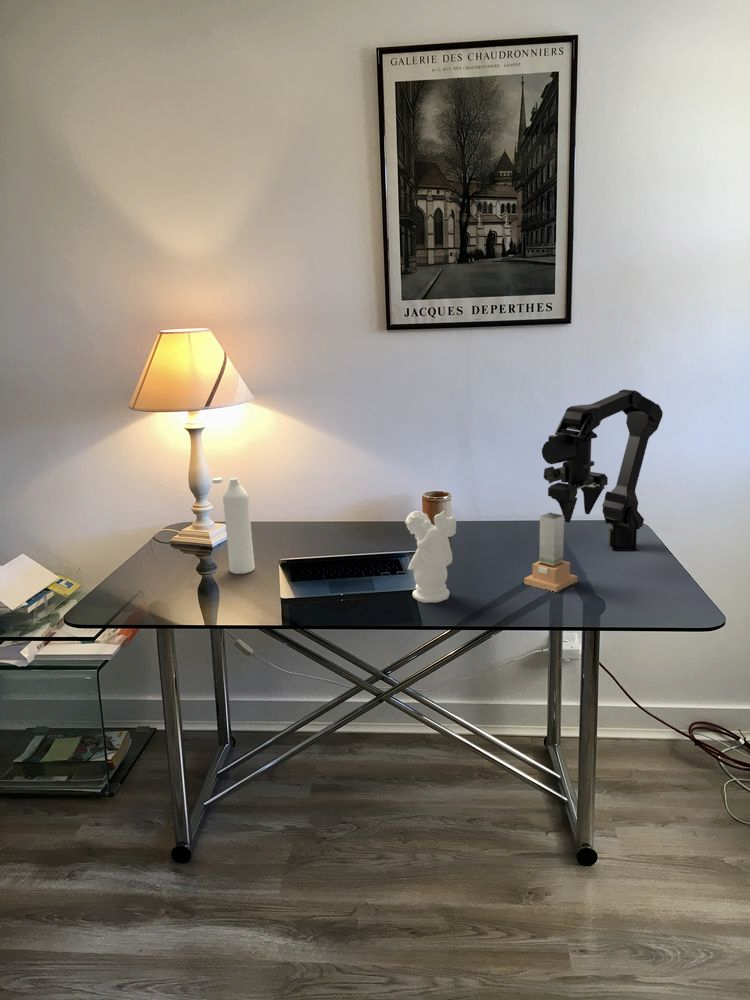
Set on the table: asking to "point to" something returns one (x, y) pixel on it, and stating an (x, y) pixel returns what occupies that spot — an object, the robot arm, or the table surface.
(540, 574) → the stand
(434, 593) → the cherub figurine
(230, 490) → the water bottle
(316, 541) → the table surface
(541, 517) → the column
